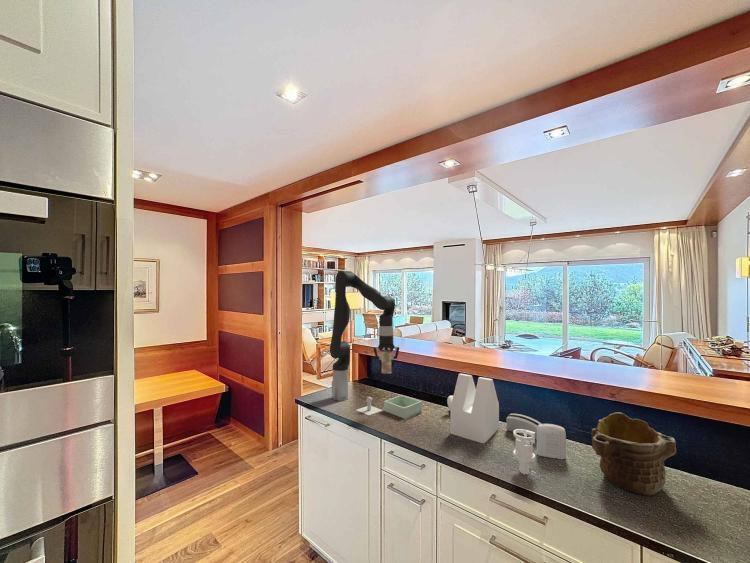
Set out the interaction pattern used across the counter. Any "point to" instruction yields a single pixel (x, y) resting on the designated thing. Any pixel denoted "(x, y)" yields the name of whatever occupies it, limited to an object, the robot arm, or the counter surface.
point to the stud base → (373, 410)
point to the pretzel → (449, 401)
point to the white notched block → (474, 409)
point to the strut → (386, 361)
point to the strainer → (524, 449)
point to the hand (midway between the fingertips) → (386, 366)
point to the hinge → (522, 423)
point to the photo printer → (551, 441)
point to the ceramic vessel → (632, 453)
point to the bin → (403, 407)
